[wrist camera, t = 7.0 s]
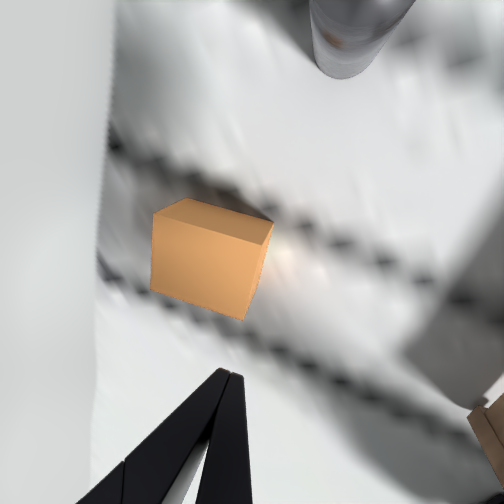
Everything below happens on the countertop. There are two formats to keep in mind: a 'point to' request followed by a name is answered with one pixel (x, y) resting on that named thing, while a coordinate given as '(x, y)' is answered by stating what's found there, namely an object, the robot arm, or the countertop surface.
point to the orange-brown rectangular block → (208, 255)
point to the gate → (491, 433)
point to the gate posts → (352, 32)
